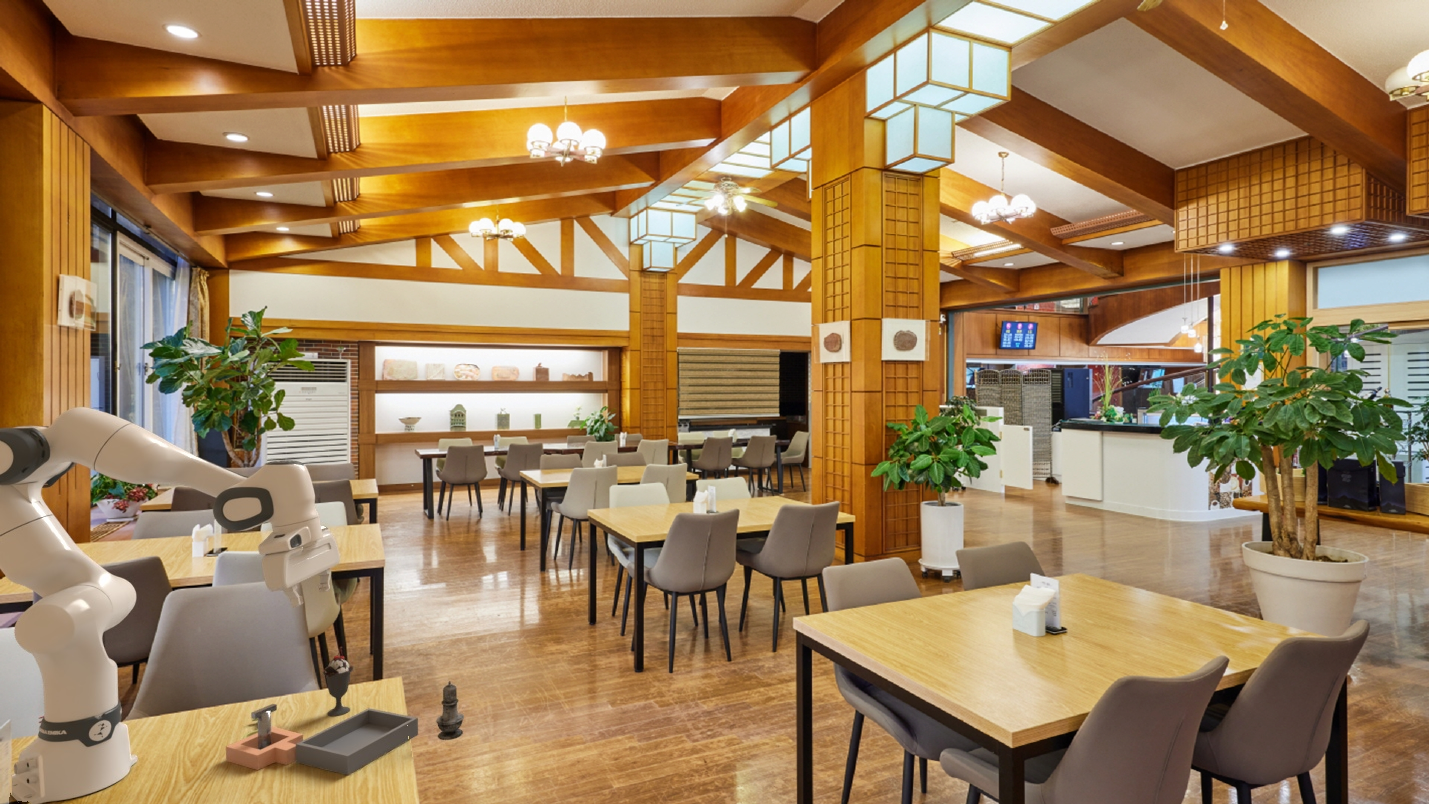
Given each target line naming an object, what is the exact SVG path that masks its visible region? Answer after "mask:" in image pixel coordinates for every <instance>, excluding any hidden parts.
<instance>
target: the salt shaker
mask: <svg viewBox="0 0 1429 804" xmlns="http://www.w3.org/2000/svg"><path fill="white" fill-rule="evenodd" d="M457 690H458V689H457V686H456V685H455V684H452V682H451V680H449V681H448V684H447V685H445V686H444V687H443V689H442V701H441V702H440V703H441V705H442V714H441V715H440V716H439V717H437V719H436V720H435V722H436V724H437V726H438V729H439V730H440V731H441V732H439V733H438V734H437V738H438V739H439V740H440V741H451V740H455V739H457V738H460V737H461V736H462V735H463V734H464V731H463V730H462V729H460V728H461V727H462V725H463V723H464V722H463V720H464V719H465V715H464V714H462V713H460V712H459V710H458V703H459V699H458V698H457V697H458V696H457V693H458V692H457Z"/></svg>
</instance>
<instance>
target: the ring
mask: <svg viewBox="0 0 1429 804" xmlns="http://www.w3.org/2000/svg"><path fill="white" fill-rule="evenodd" d="M303 740H304V734H303V733H299V732H295V731H290V730H287V729H285V728H279V727H277V728H276V726H271V745H270V746H268V747H265V748H263V749H261V750H259V749H258V733H256V734H253V735H251V736H249V737H247V738H244V739H243V738H242V739H239V740H238V741H235V742H233V743H231V744H229V745H226V746H225V760H226V761H225V762H229V763H233V764H235V765H238V766H242V767H246V768H250V769H252V770H256V771H259V770H261V769H263V768H265V767H267V766H269V765H271V764H274V763H278V764H282V765H284V766H287V765H290V764H291V763H294V762H296V744H297V743H299V742H301V741H303Z"/></svg>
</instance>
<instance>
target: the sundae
mask: <svg viewBox="0 0 1429 804" xmlns="http://www.w3.org/2000/svg"><path fill="white" fill-rule="evenodd" d="M342 649H343V646H340V647H339V652H338V653H337V655H334V657H333V659H332V660H331V661H330V662H329V664H328V666H326V667H325V668H324V670H322V674H323V675H325V678H326V682H327V689H328V692H329V693H328V694H329V695H330V696H331V697H333V698H334V699H335V707H333V708H332V709H329V710H328V711H327V716H330V717H337V716H344V715H345V714H347V713H349V712H350V711H351V708H350V707H349V706H343V705H342V697H343V696H345V695H346V693H348V690H349V684H350V679H351V673H352V672H354V671H353V670H354V666H353V665H350V664H349V662H348V660H345V656H344V655H343V650H342ZM339 654H341V656H340V655H339Z"/></svg>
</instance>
